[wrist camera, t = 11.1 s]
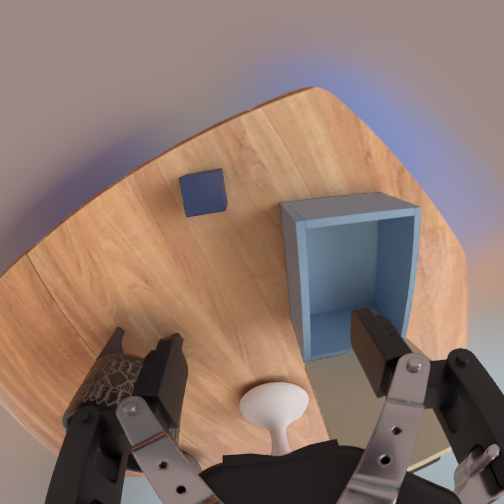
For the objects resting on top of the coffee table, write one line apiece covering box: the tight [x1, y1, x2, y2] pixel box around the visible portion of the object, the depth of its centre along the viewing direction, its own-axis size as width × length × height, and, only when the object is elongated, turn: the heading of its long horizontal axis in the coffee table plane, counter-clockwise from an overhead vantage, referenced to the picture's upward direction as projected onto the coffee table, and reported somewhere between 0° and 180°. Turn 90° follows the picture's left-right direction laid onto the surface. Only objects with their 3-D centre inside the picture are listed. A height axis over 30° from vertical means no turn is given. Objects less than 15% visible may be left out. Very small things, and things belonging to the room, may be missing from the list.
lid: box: [305, 339, 452, 473], centre depth 20 cm, size 16×13×5 cm
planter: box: [62, 327, 183, 473], centre depth 29 cm, size 13×13×18 cm
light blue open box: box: [280, 192, 421, 363], centre depth 29 cm, size 16×13×9 cm
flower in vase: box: [239, 382, 309, 456], centre depth 30 cm, size 13×11×25 cm
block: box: [179, 168, 227, 217], centre depth 28 cm, size 4×4×4 cm
